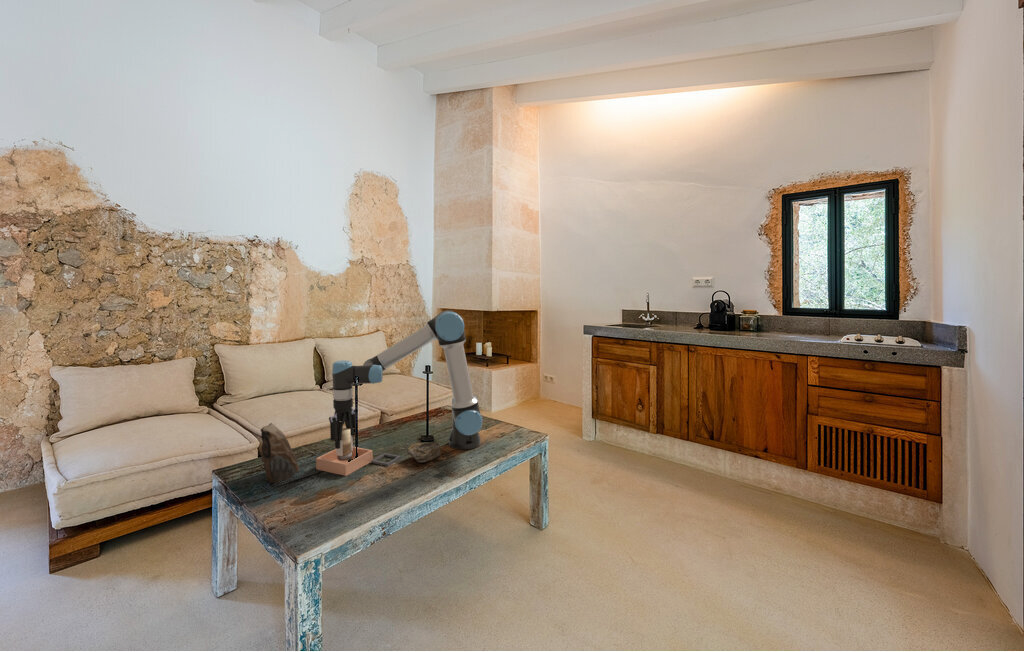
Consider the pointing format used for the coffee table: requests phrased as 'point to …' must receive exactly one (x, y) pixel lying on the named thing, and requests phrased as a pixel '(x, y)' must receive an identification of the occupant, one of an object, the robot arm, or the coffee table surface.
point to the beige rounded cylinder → (346, 445)
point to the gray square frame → (385, 462)
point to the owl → (277, 455)
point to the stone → (424, 451)
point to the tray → (336, 466)
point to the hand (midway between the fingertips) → (344, 452)
